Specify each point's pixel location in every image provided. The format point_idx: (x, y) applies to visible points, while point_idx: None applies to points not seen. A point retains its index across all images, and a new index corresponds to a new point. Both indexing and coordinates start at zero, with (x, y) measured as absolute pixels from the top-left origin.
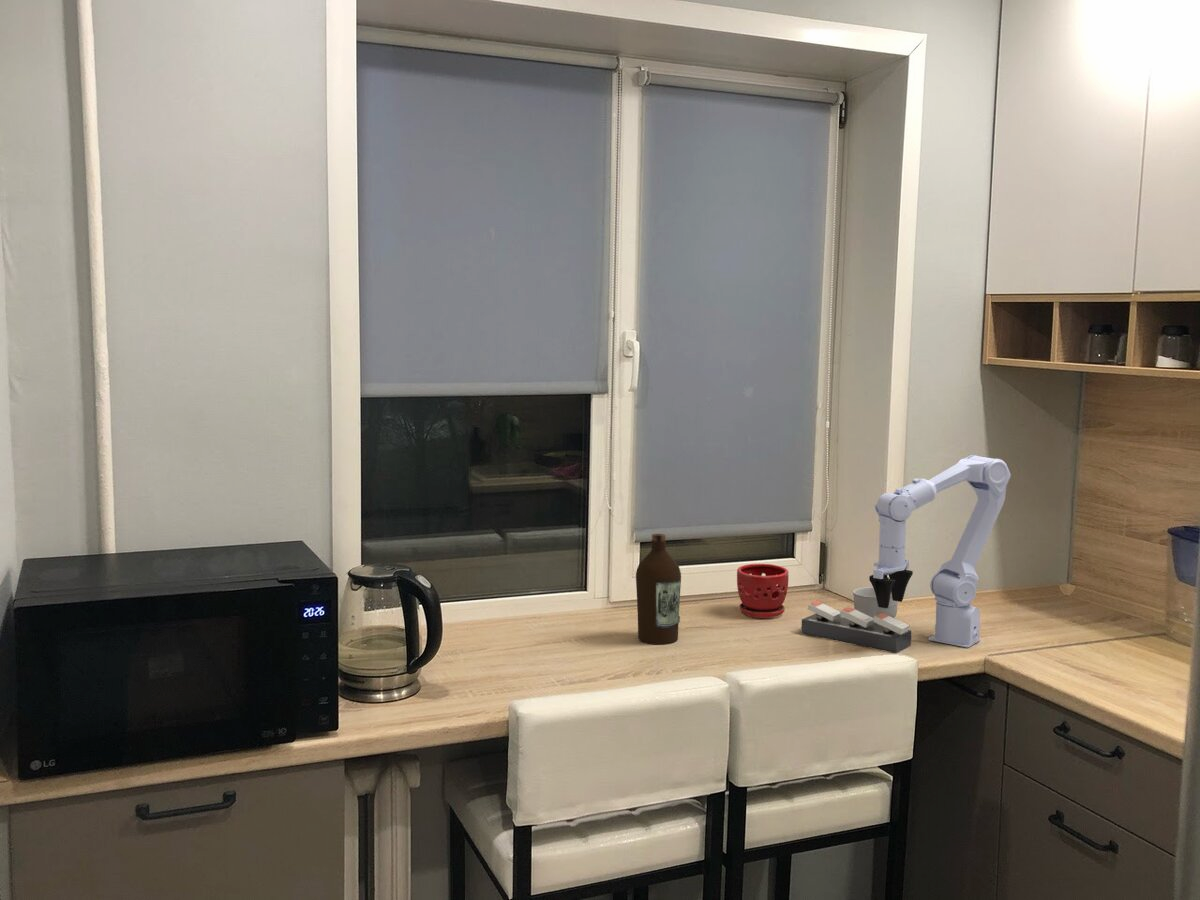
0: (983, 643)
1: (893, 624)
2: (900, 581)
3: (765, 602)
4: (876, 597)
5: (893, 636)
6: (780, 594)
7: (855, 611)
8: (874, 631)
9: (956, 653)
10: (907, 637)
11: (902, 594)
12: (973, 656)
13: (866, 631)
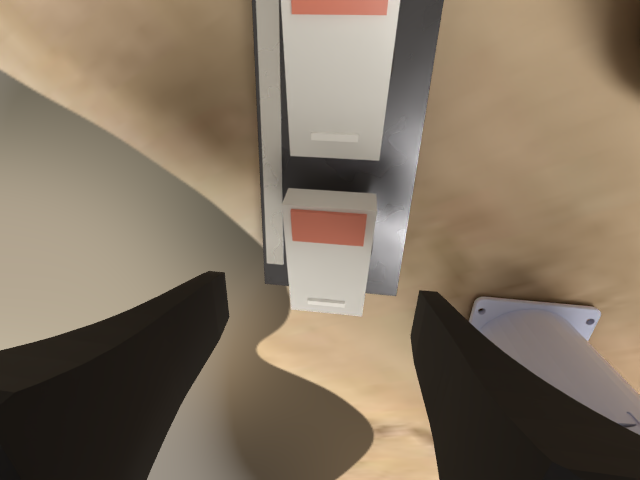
0: None
1: (292, 281)
2: (453, 467)
3: None
4: (160, 297)
5: (277, 269)
6: None
7: (366, 34)
8: (292, 187)
9: (385, 376)
10: None
11: (419, 380)
12: (383, 408)
13: (262, 163)
